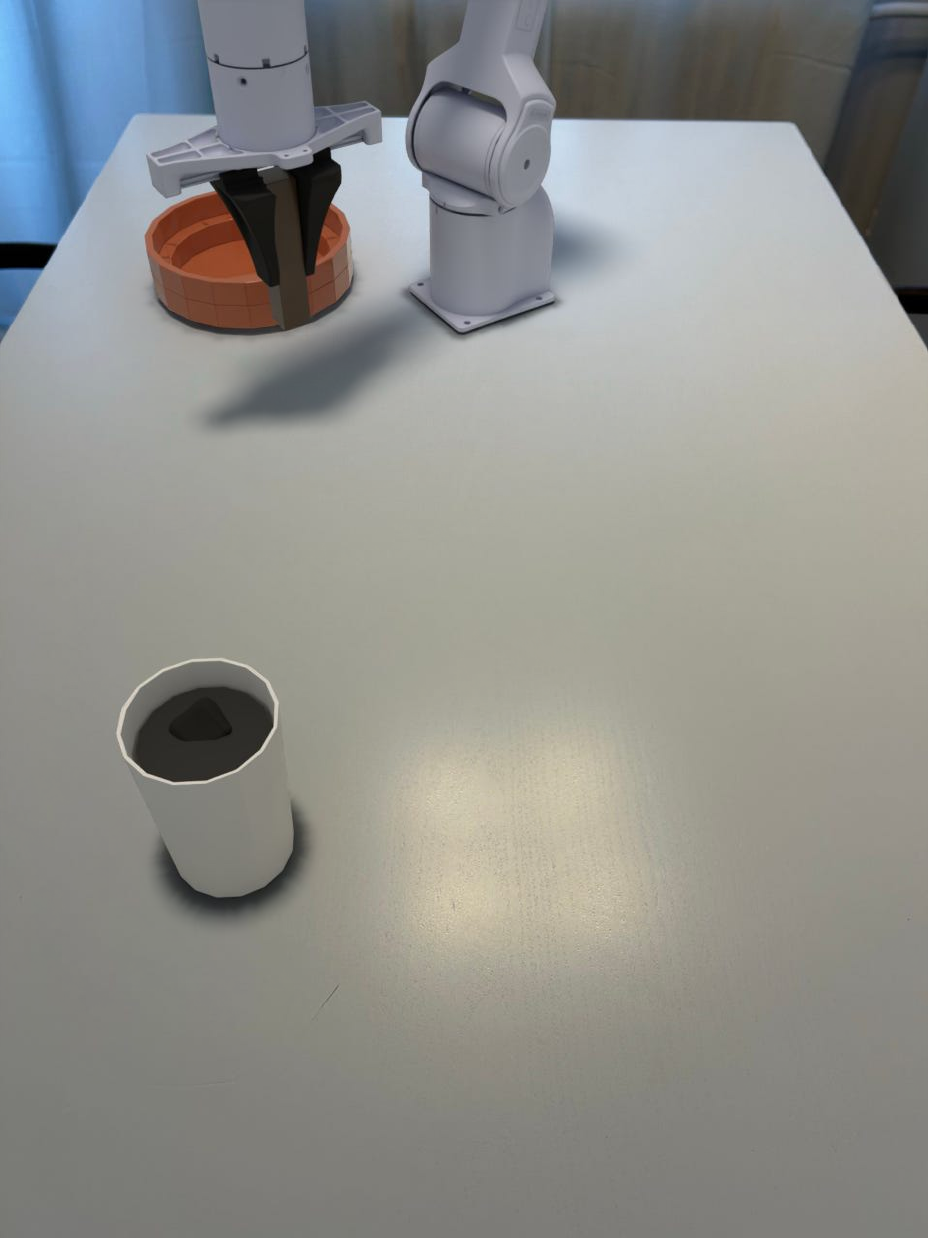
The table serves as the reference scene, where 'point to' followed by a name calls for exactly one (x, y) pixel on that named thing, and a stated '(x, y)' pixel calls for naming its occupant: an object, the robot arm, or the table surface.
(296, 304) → the stick
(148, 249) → the bowl
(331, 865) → the table surface
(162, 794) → the white cup
